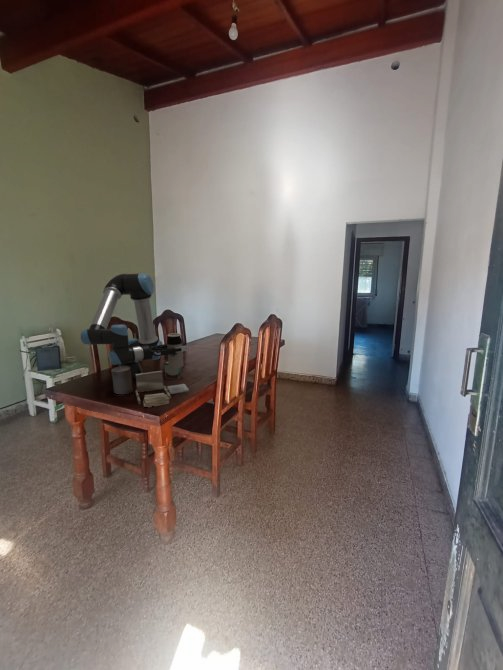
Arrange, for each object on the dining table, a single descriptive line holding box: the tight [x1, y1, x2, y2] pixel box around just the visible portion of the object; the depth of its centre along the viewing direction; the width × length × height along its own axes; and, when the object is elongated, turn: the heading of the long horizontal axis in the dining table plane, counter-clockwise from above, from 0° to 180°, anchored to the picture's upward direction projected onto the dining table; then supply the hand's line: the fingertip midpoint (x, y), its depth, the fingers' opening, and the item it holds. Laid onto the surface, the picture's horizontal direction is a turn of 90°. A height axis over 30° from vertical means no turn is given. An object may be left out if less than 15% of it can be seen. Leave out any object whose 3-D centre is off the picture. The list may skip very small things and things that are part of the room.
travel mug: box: [166, 332, 184, 369], centre depth 184 cm, size 8×8×18 cm
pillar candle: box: [110, 366, 134, 395], centre depth 184 cm, size 10×10×15 cm
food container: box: [163, 360, 181, 381], centre depth 208 cm, size 12×6×10 cm, turn 65°
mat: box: [166, 383, 190, 395], centre depth 188 cm, size 10×10×1 cm
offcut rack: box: [135, 370, 172, 408], centre depth 177 cm, size 26×16×10 cm, turn 24°
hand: (183, 346), depth 186 cm, fingers closed on travel mug, 8 cm apart
